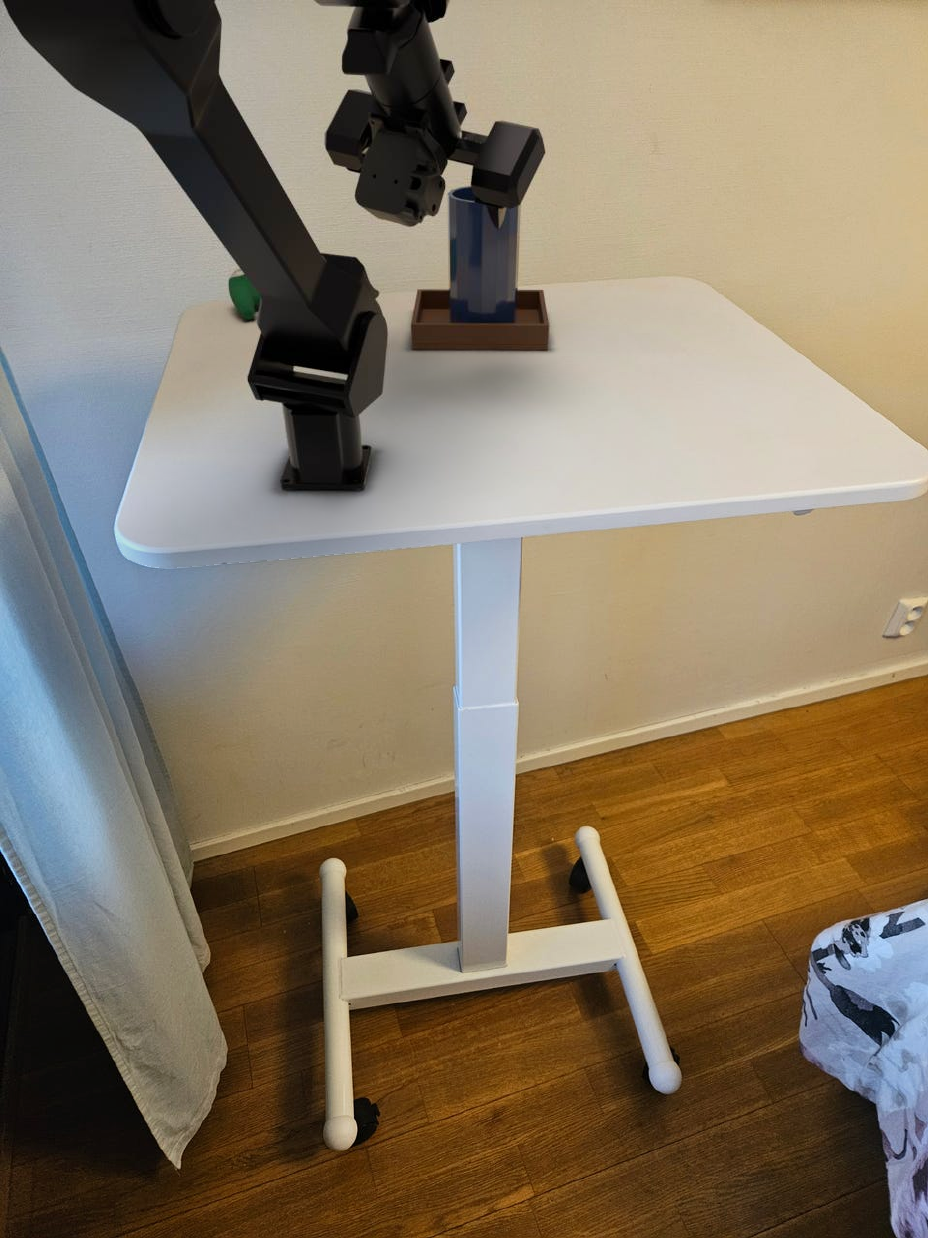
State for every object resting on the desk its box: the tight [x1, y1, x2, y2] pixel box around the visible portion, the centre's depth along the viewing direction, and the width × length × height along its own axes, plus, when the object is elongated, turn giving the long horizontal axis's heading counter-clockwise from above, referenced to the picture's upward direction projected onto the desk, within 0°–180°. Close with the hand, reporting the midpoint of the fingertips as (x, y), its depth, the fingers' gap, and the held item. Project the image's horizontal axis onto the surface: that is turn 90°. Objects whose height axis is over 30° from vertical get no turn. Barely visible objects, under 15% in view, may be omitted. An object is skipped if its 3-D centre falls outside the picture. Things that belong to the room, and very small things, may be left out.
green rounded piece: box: [228, 267, 260, 321], centre depth 96 cm, size 9×4×6 cm
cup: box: [446, 185, 522, 323], centre depth 87 cm, size 7×7×13 cm
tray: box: [410, 288, 550, 351], centre depth 91 cm, size 11×14×3 cm
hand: (456, 212), depth 79 cm, fingers open, 9 cm apart
